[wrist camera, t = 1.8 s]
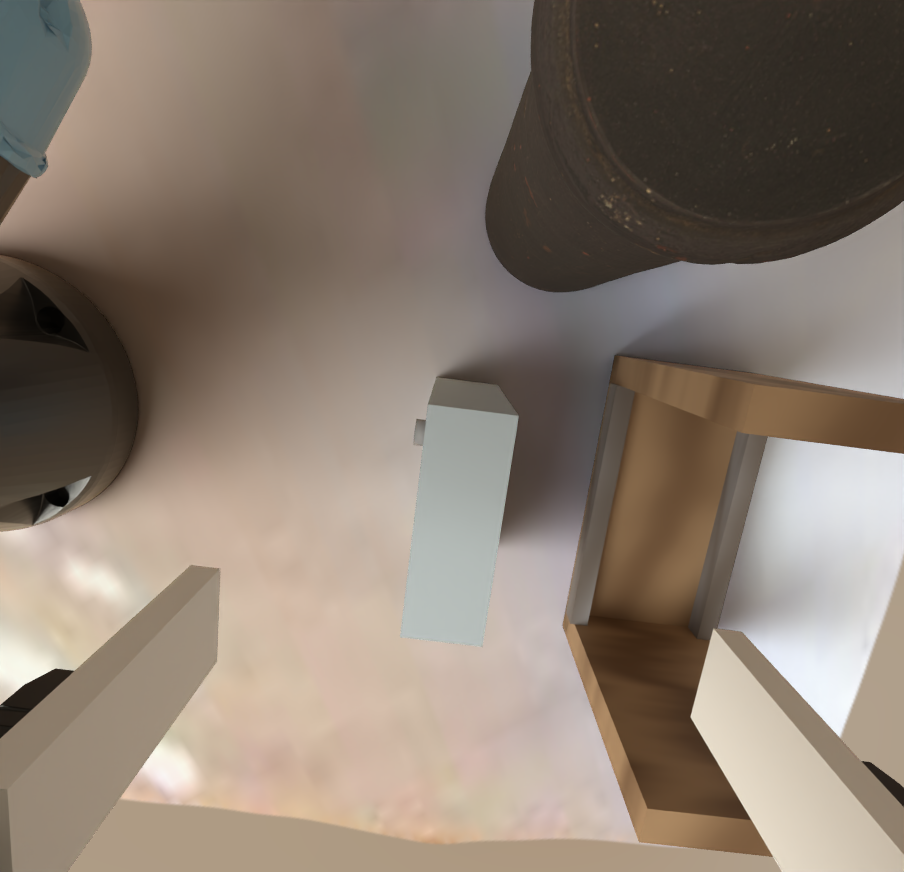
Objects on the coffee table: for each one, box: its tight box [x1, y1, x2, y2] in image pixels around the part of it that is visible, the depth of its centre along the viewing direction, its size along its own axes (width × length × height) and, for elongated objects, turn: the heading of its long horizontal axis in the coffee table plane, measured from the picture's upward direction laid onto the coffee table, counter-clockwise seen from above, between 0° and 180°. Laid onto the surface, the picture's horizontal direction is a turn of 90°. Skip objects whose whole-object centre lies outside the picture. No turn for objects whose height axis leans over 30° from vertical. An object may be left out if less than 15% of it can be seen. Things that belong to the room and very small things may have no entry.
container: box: [485, 0, 904, 292], centre depth 18 cm, size 9×9×20 cm
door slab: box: [400, 377, 519, 647], centre depth 26 cm, size 4×10×10 cm, turn 173°
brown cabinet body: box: [563, 355, 904, 857], centre depth 24 cm, size 8×17×14 cm, turn 173°
